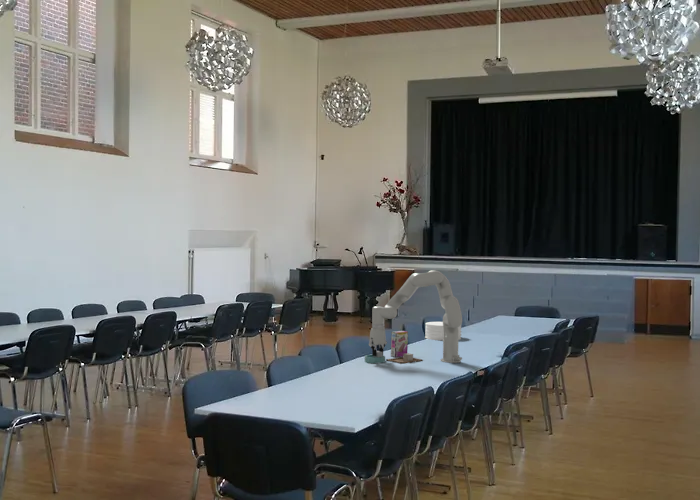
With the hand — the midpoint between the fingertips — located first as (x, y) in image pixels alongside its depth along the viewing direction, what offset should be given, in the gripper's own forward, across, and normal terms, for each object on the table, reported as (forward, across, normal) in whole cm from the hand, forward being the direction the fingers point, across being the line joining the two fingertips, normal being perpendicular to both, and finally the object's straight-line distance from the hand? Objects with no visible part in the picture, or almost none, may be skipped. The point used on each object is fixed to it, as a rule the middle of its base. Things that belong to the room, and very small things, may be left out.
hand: (377, 355), depth 468 cm
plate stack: (+5, -120, -55) cm, 132 cm away
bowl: (+4, 0, -2) cm, 5 cm away
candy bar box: (+5, -27, -8) cm, 29 cm away
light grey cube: (+2, 0, 0) cm, 2 cm away
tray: (+4, -16, +8) cm, 18 cm away
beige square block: (+4, -16, +11) cm, 20 cm away
